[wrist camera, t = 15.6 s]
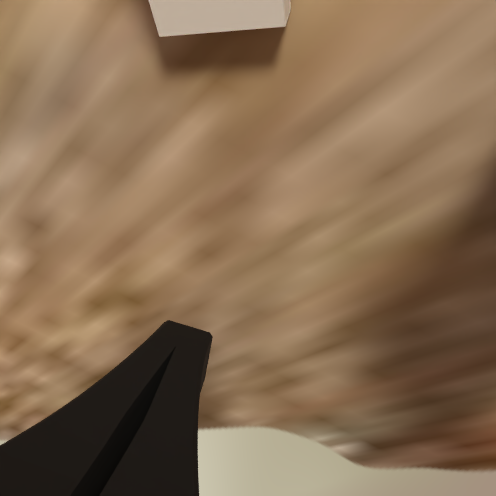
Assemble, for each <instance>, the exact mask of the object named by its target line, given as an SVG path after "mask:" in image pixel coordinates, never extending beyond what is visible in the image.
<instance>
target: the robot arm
mask: <svg viewBox="0 0 496 496" xmlns="http://www.w3.org/2000/svg"><path fill="white" fill-rule="evenodd" d="M212 337H213V336H212V335H211V334H210V332H206V331H203V330H200V329H196V328H193V327H190V326H186V325H183V324H180V323H176V322H173V321H170V320H168V321H166V322H164V323H163V324H162V325H161V326H160V327H159V328H158V329H157V330H156V331H155V332H154V333H153V334H152V335H151V336H150V337H149V338H148V339H147V340H146V341H145V342H144V343H143V344H142V345H141V346H139V347H138V348H137V349H136V350H135V351H134V352H133V353H132V354H131V355H129V356H128V357H127V358H126V359H125V360H123V361H122V362H121V363H120V364H119V365H118V366H116V367H115V368H114V369H113V370H112V371H110V372H109V373H108V374H107V375H105V376H104V377H103V378H101V379H100V380H99V381H98V382H96V383H95V384H94V385H92V386H91V387H90V388H88V389H87V390H86V391H84V392H83V393H82V394H80V395H79V396H78V397H76V398H75V399H73V400H72V401H71V402H69V403H68V404H66V405H65V406H63V407H62V408H60V409H59V410H57V411H56V412H54V413H53V414H51V415H50V416H48V417H47V418H45V419H44V420H42V421H41V422H39V423H37V424H36V425H34V426H32V427H31V428H29V429H27V430H26V431H24V432H22V433H21V434H19V435H18V436H16V437H14V438H12V439H11V440H9V441H7V442H6V443H4V444H2V445H0V496H199V483H198V454H197V453H198V451H197V450H198V449H197V446H198V445H197V444H198V441H197V439H198V410H199V397H200V392H201V389H202V386H203V382H204V379H205V375H206V369H207V364H208V359H209V353H210V348H211V343H212Z"/></svg>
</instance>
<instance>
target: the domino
mask: <svg viewBox="0 0 496 496" xmlns="http://www.w3.org/2000/svg"><path fill="white" fill-rule="evenodd" d="M149 4H150V7H151V10H152V14H153V17H154V20H155V24H156V27H157V30H158V34H159V37H164V36H176V35H188V34H201V33H213V32H225V31H237V30H250V29H262V28H274V27H286V23H287V20H288V17H289V14H290V11H291V2H290V0H149Z"/></svg>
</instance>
